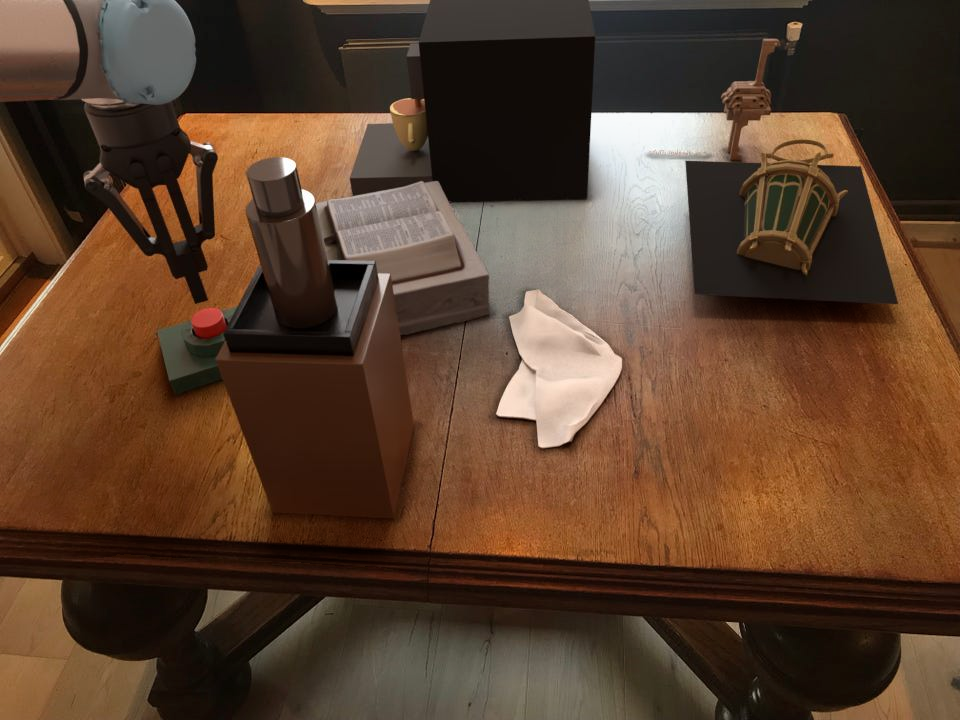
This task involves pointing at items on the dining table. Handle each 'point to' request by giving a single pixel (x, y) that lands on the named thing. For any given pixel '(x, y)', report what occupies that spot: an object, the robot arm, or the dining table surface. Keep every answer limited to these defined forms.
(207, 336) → the button
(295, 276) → the metal bottle
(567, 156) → the coffee maker
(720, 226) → the lantern
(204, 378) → the base
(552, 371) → the cloth
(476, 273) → the bible
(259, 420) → the brown pedestal
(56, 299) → the dining table surface
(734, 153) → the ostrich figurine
